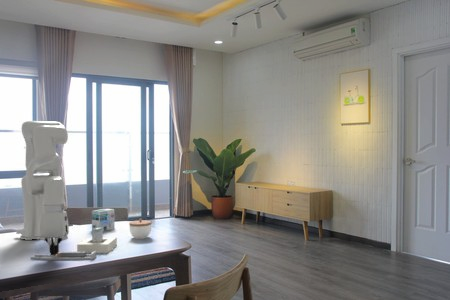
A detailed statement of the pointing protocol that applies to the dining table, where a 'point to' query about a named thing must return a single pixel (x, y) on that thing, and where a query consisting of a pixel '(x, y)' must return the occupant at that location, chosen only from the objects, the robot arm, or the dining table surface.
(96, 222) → the light bulb box
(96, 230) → the grey canister
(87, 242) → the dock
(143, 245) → the dining table surface
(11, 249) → the dining table surface
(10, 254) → the dining table surface
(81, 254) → the lock pin
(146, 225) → the lidded jar
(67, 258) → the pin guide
